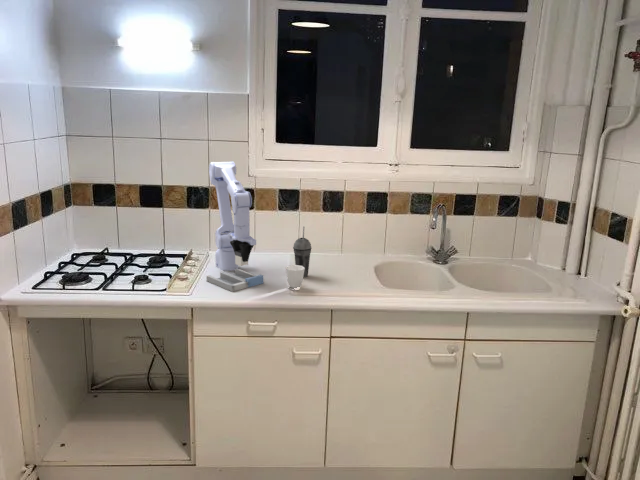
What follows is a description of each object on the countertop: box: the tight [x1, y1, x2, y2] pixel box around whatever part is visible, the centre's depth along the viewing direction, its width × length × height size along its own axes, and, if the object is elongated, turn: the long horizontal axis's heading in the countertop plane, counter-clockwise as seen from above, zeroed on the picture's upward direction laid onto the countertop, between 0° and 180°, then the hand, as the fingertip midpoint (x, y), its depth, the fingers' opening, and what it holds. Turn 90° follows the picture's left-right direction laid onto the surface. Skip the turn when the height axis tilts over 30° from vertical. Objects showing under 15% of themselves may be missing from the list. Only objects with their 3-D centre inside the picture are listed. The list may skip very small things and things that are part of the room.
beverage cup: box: [292, 226, 312, 278], centre depth 209 cm, size 7×7×20 cm
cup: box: [285, 264, 305, 291], centre depth 198 cm, size 7×10×8 cm
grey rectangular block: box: [235, 250, 249, 267], centre depth 200 cm, size 3×3×5 cm
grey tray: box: [205, 267, 265, 293], centre depth 199 cm, size 16×15×4 cm
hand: (242, 260), depth 200 cm, fingers closed on grey rectangular block, 3 cm apart
